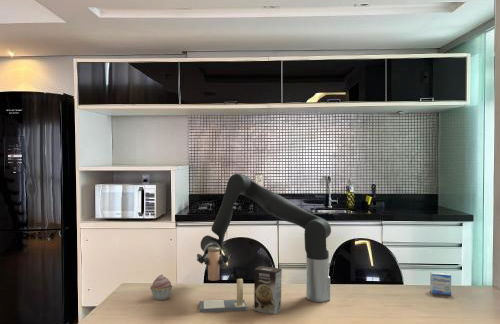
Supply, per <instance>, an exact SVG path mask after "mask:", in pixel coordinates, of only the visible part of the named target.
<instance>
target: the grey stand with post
mask: <svg viewBox="0 0 500 324" xmlns="http://www.w3.org/2000/svg"><path fill="white" fill-rule="evenodd" d="M236 311H237V312H239V311H241V312H242V311H248V307H247V304H246V301H245V299H244V279H243V278H236V299H217V300H216V299H212V300H211V299H209V300H200V301H199V313H212V312H213V313H217V312H236Z"/></svg>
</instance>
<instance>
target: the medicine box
mask: <svg viewBox="0 0 500 324" xmlns="http://www.w3.org/2000/svg"><path fill="white" fill-rule="evenodd" d="M429 275H430V276H429V277H430V278H429V279H430V286H429V287H430V293H431V294H433V295H445V296H451V295H452V275H451V273H449V272H435V271H430V274H429Z"/></svg>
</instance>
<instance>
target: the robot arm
mask: <svg viewBox="0 0 500 324" xmlns="http://www.w3.org/2000/svg"><path fill="white" fill-rule="evenodd" d="M224 191H225V192H224V194H223V198H222V201H221V205H220V207H219V210H218V212H217V215H216V216H215V219H214V221H213V223H212V226H211V230H210V231H211V232H212V233H214V234H215V235H216V236H217V237H218V238H216V237H213V236H211V235H204V236H203V237H202V238H201V241H200V248H201V250H202V252H203V254H200V253H197V254H196V262H198V263H199V264H204V265H206V266H207V267H208V247H220V252H219V266H222V265H223V264H224V263H225V264H226V263H228V262H229V261H230V257H231V255H230V253H225V254H224V253H223V248H224V242H225V241H224V239H225V236H226V233H227V230H228V229H229V226H230V225H231V221H232V218H233V217H232V216H233V212H234V207H235V204H236V201H237V199H238V197H239V196H240V195H242V196H244V197H247V198H249V199H250V200H252V201H254V202H256V203H257V204H258V205H259V206H260V207H261V208H262V209H263V210H264V211H265V212H267V213H268V214H270V215H272V216H273V217H275V218H277V219H279V220H281V221H284V222H287V223H291V224H293V225H297V226H298V227H301V228H302V229H303V230H304V250H305V253H306V254H305V255H306V256H305V257H306V258H305V259H306V261H305V262H306V280H305V281H306V285H305V286H306V300H308V301H310V302H316V303H317V302H318V303H323V302H327V301H331V276H329V275H330V274H329V273H330V272H329V271H330V270H329V268H330V265H329V263H330V262H329V261H330V259H329V257H330V255H329V253H330V252H329V250H328V249H327V239H328V238H329V236H331V233H332V227H331V225H330V223H329V222H328V221H327V220H326V219H325V218H323V217H320V216H318V215H315V214H313V213H311V212H308V211H307V210H304V209H303V208H301V207H300V206H299V205H297V204H295V203H293V202H291V201H290V200H288V199H287V198H285V197H283V196H282V195H280V194H278V193H276V192H274V191H271V190H269V189H267V188H265V187H264V186H261V185H259V184H258V183H256V182H255V181H254V180H252V179H251V178H250V177H248V176H247V175H244V174H239V173H235V174H232V175H231V176H230V177H229V178H228V181H227V184H226V188H225V190H224Z"/></svg>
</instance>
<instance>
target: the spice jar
mask: <svg viewBox="0 0 500 324" xmlns="http://www.w3.org/2000/svg"><path fill="white" fill-rule="evenodd" d="M219 252H220V247H208V266H207V280H208V281H212V282H213V281H219V280H220V265H219Z"/></svg>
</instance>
